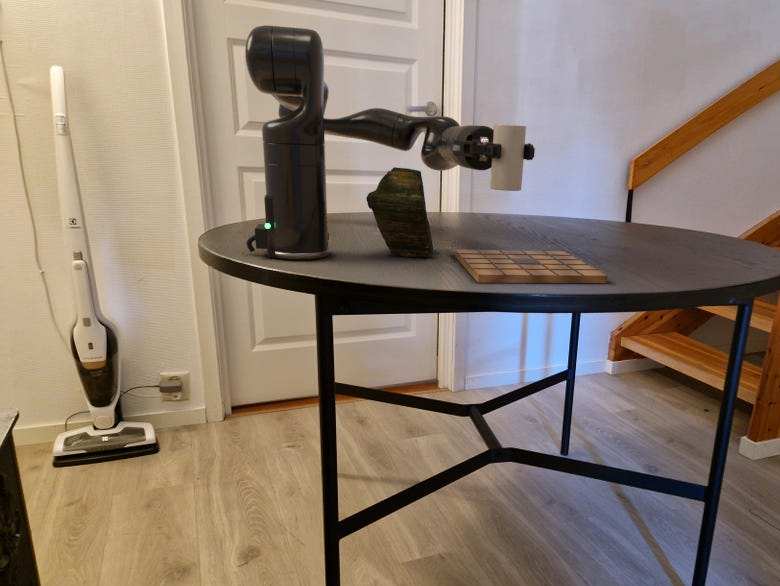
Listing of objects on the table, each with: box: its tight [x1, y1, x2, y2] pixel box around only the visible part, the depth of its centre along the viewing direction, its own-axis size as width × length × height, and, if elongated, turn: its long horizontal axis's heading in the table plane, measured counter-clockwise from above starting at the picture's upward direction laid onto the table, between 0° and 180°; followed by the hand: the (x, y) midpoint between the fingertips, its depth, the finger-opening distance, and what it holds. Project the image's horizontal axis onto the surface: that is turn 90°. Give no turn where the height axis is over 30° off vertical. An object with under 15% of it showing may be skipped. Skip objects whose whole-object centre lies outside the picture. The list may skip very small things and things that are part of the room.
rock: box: [366, 167, 434, 259], centre depth 104 cm, size 12×9×15 cm
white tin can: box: [489, 123, 527, 192], centre depth 101 cm, size 5×5×10 cm
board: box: [454, 248, 609, 284], centre depth 100 cm, size 20×20×1 cm
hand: (515, 152), depth 98 cm, fingers closed on white tin can, 5 cm apart
